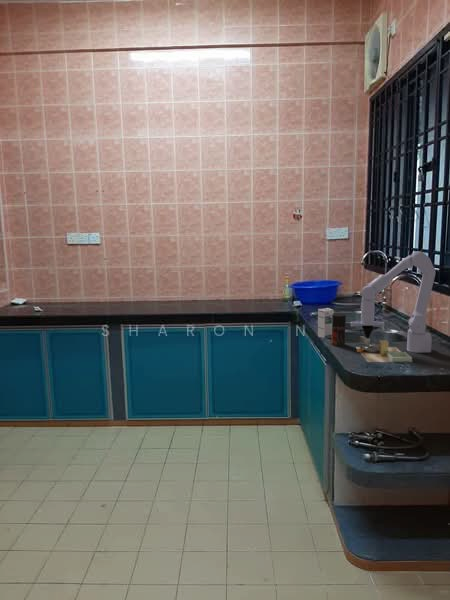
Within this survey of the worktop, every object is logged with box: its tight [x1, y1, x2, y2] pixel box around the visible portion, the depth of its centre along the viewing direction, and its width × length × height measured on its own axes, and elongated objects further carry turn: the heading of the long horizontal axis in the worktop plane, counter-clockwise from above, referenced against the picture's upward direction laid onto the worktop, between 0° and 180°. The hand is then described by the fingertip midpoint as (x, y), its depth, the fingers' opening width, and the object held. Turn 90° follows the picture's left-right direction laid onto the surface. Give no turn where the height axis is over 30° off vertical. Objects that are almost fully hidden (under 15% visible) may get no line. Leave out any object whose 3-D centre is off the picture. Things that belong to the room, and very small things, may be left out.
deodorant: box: [331, 313, 347, 347], centre depth 203 cm, size 6×6×15 cm
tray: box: [386, 351, 413, 363], centre depth 181 cm, size 8×8×2 cm
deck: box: [355, 346, 402, 363], centre depth 188 cm, size 18×22×1 cm
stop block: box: [378, 339, 390, 356], centre depth 187 cm, size 3×3×6 cm
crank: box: [356, 335, 379, 353], centre depth 194 cm, size 13×12×4 cm
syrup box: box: [317, 307, 335, 339], centre depth 220 cm, size 6×6×14 cm
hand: (366, 341), depth 199 cm, fingers closed, pressing on crank
